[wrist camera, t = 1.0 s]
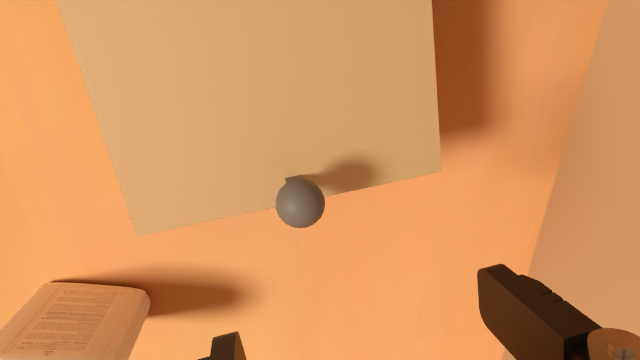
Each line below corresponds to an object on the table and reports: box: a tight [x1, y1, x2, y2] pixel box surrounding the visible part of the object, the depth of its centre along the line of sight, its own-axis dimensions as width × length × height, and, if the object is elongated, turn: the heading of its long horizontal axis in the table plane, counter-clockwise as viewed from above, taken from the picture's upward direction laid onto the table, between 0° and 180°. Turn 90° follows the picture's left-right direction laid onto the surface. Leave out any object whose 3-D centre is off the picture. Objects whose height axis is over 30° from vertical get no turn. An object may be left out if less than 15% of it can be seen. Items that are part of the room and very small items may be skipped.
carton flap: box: [56, 0, 442, 237], centre depth 23 cm, size 16×22×6 cm
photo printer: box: [0, 282, 150, 360], centre depth 33 cm, size 10×4×12 cm, turn 80°
